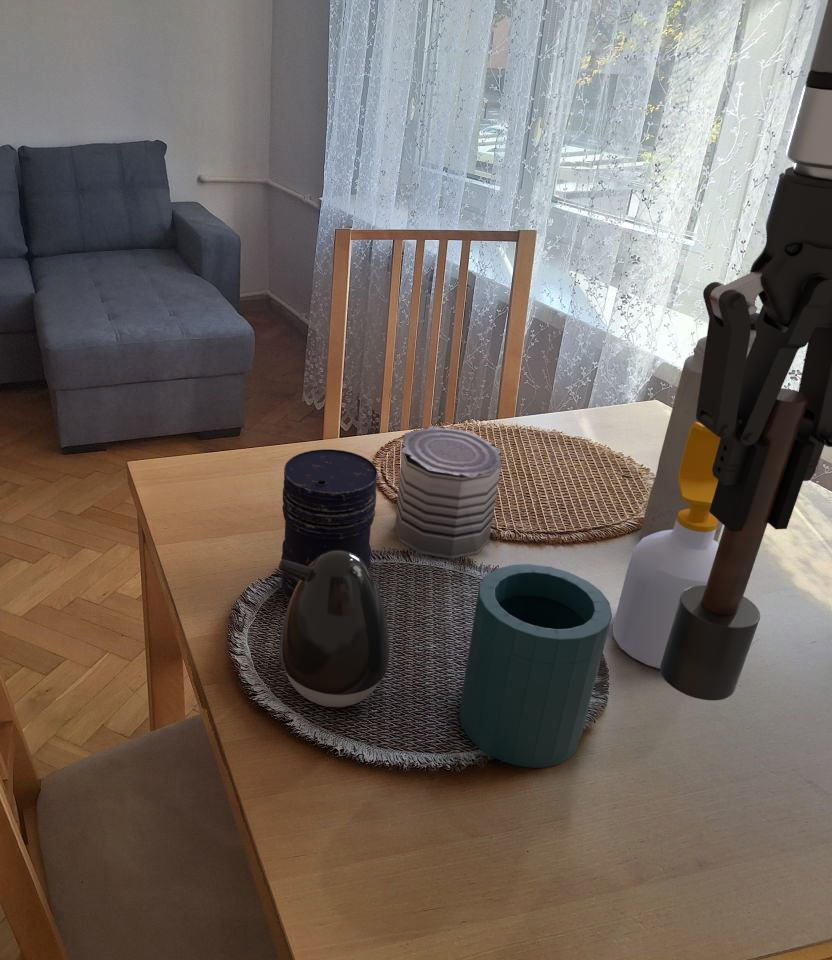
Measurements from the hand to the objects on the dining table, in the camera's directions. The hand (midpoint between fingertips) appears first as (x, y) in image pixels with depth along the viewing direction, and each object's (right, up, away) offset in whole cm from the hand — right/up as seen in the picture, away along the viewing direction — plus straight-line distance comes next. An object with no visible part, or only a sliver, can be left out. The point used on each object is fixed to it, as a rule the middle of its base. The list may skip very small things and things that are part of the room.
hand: (747, 519), depth 60 cm
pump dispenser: (-26, -17, +22) cm, 38 cm away
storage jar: (-24, -9, +37) cm, 45 cm away
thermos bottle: (+19, -5, +42) cm, 46 cm away
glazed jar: (-10, -19, +17) cm, 28 cm away
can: (-8, -4, +45) cm, 46 cm away
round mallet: (+1, -13, +7) cm, 15 cm away
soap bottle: (+8, -14, +26) cm, 31 cm away
